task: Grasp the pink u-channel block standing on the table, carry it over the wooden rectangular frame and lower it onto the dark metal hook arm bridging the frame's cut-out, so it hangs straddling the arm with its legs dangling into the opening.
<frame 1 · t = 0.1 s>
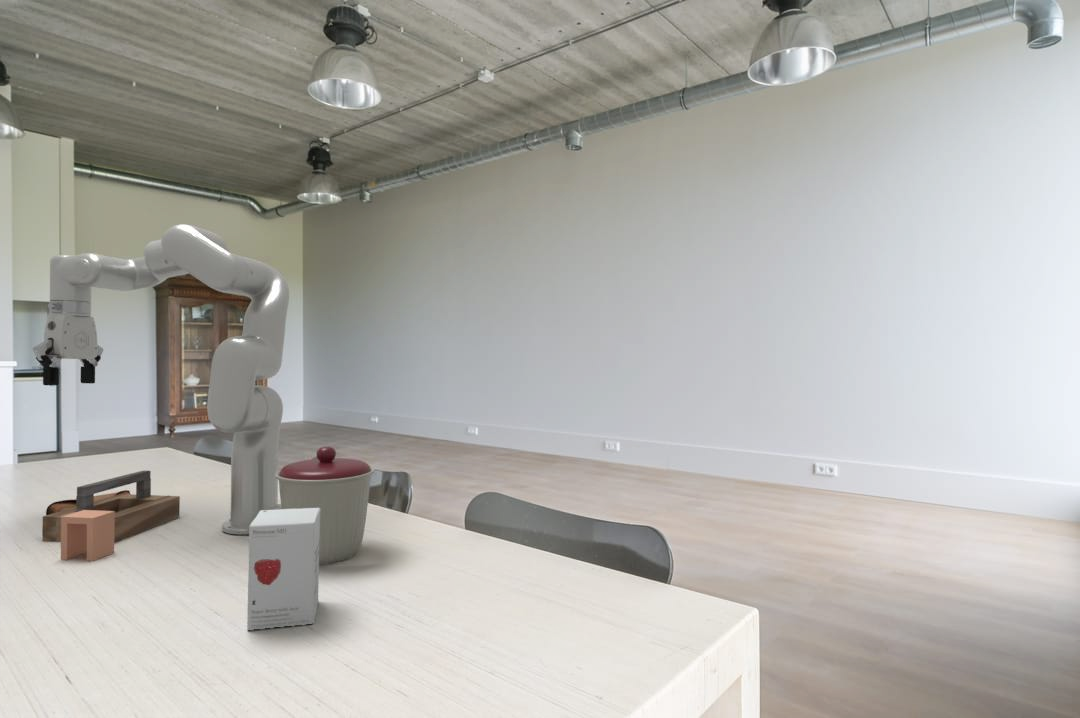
hand: (69, 384, 137), 31 cm above the table, fingers open, 9 cm apart
supplement box: (284, 617, 89), on the table
pink u-channel block: (88, 556, 113), on the table
wooden rectangular frame: (115, 528, 131), on the table
canister: (325, 556, 115), on the table
sunglasses case: (98, 514, 144), on the table
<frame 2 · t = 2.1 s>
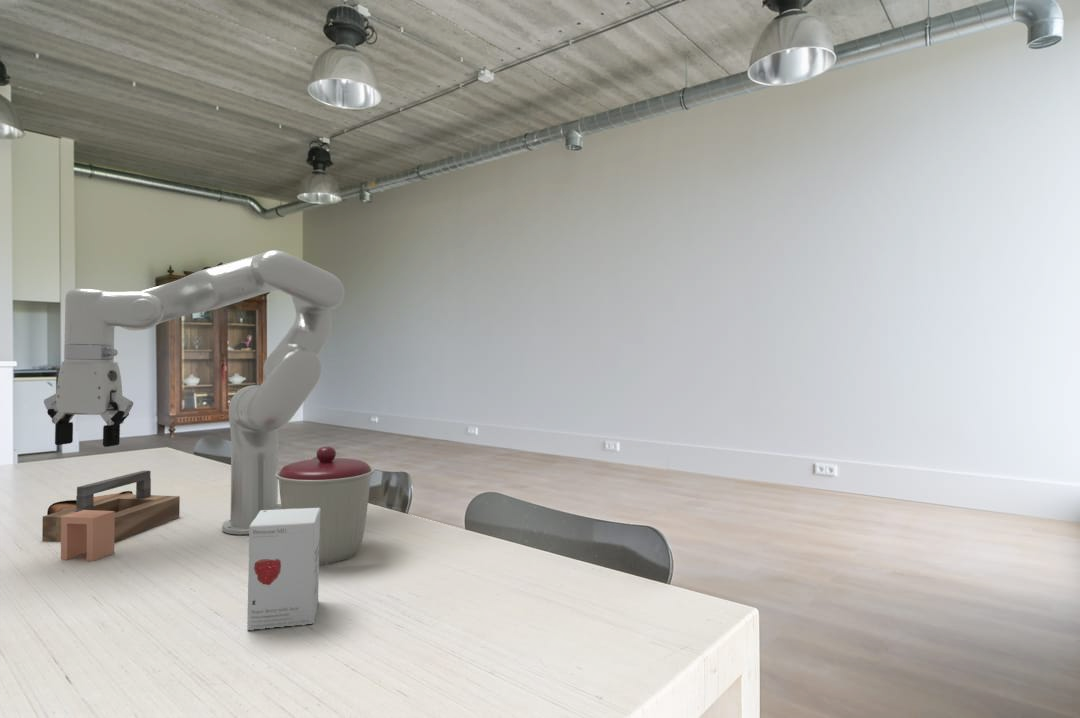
hand: (87, 444, 113), 21 cm above the table, fingers open, 9 cm apart
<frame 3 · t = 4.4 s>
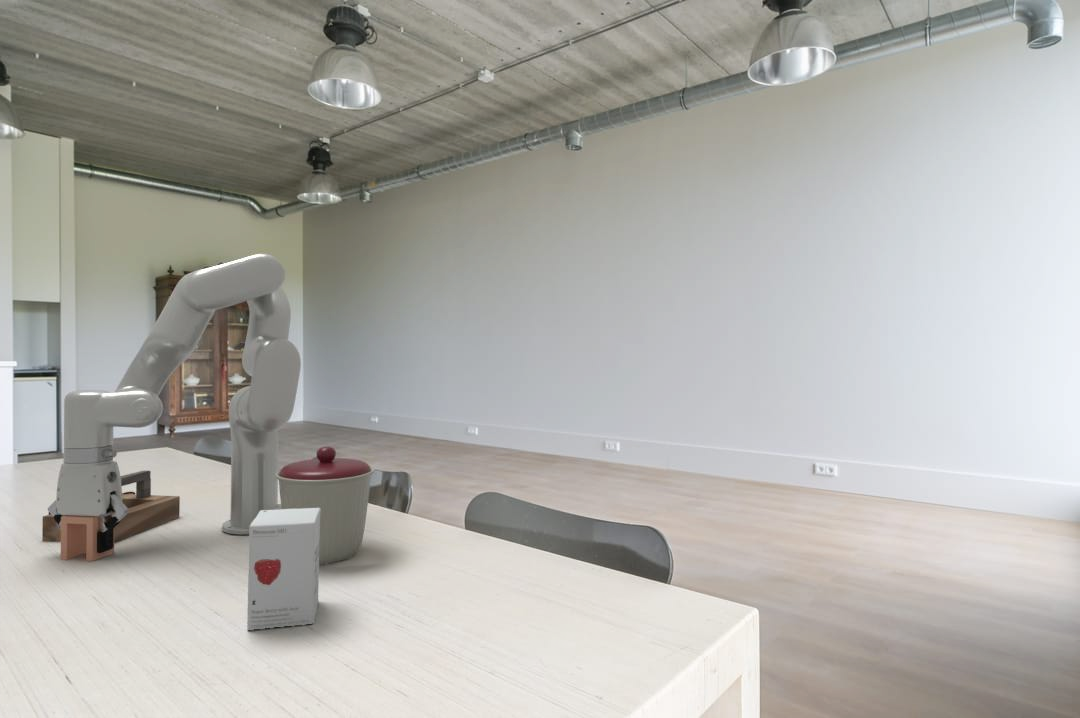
hand: (87, 549, 113), 1 cm above the table, fingers closed on pink u-channel block, 6 cm apart
pink u-channel block: (87, 555, 113), on the table, touching gripper
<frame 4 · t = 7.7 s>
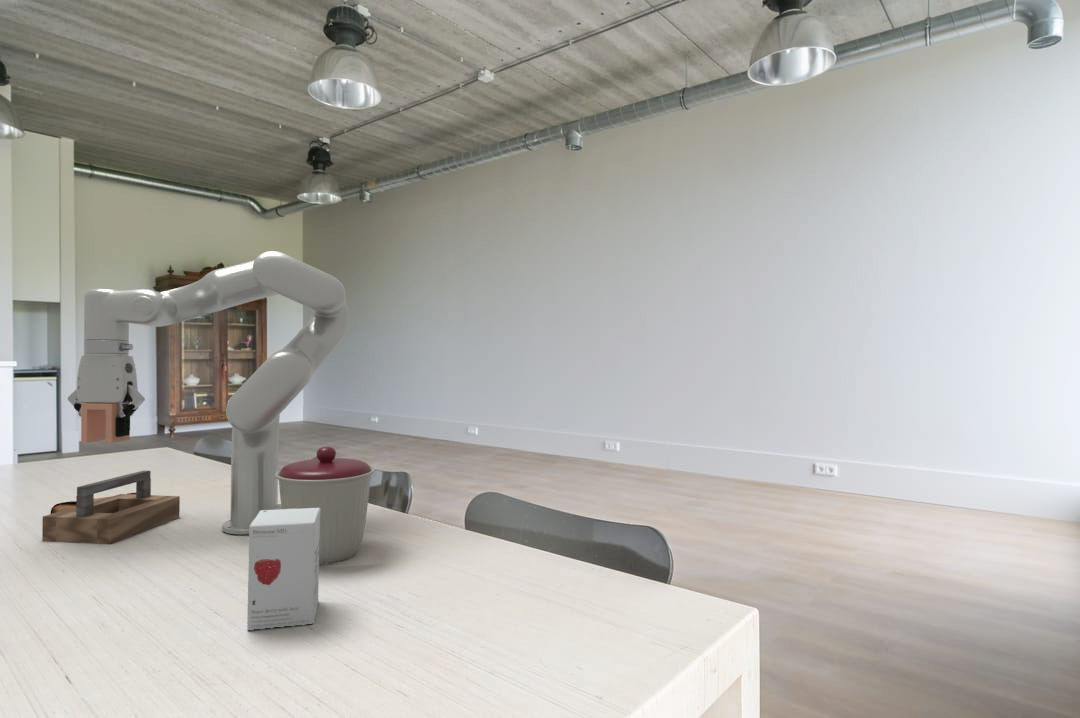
hand: (106, 434, 124), 22 cm above the table, fingers closed on pink u-channel block, 6 cm apart
pink u-channel block: (105, 441, 124), point 20 cm above the table, touching gripper
sunglasses case: (102, 517, 142), on the table
everything else where it was.
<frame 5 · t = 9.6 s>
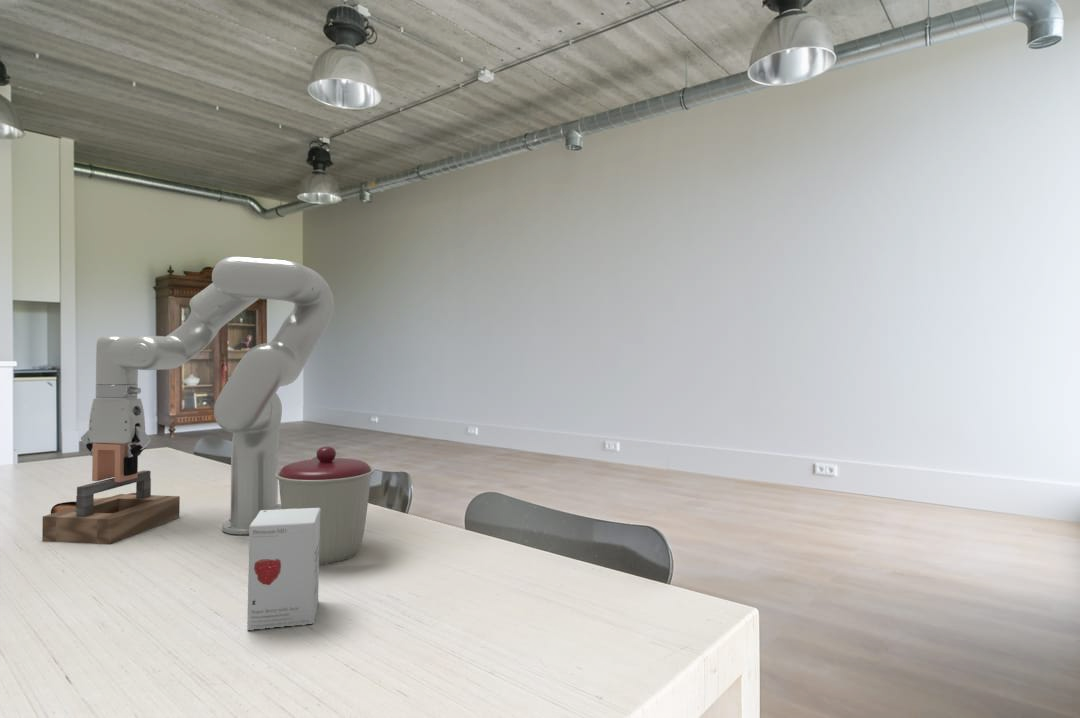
hand: (115, 473, 131), 12 cm above the table, fingers closed on pink u-channel block, 6 cm apart
pink u-channel block: (115, 479, 131), point 11 cm above the table, touching gripper
everything else where it was.
when the fingers open (6 cm above the table, at t = 11.2 s): pink u-channel block stays where it is, resting on wooden rectangular frame.
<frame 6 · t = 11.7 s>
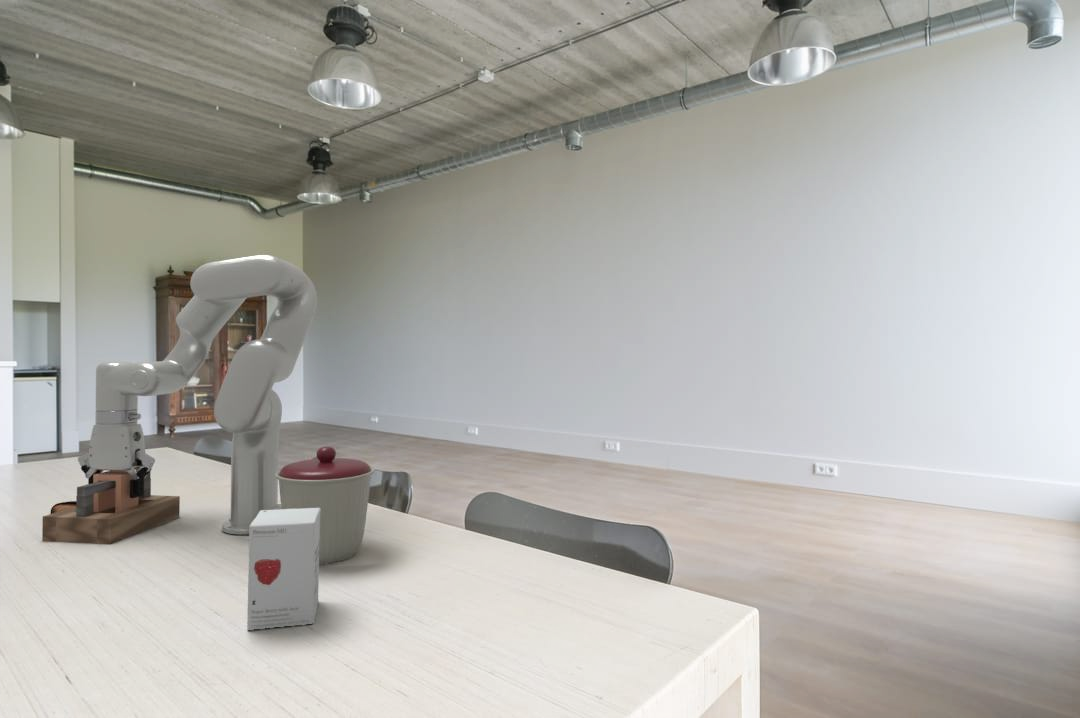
hand: (116, 496, 131), 7 cm above the table, fingers open, 9 cm apart
pink u-channel block: (115, 509, 131), point 4 cm above the table, touching wooden rectangular frame
everything else where it was.
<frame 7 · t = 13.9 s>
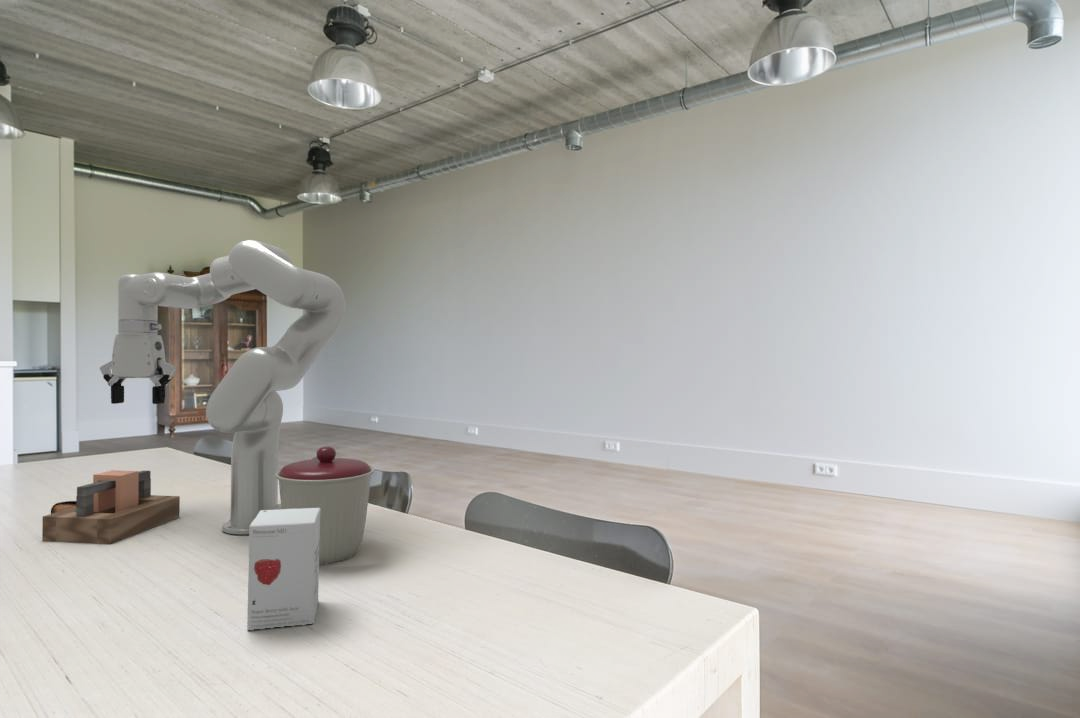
hand: (138, 403, 137), 27 cm above the table, fingers open, 9 cm apart
nothing on the table moved.
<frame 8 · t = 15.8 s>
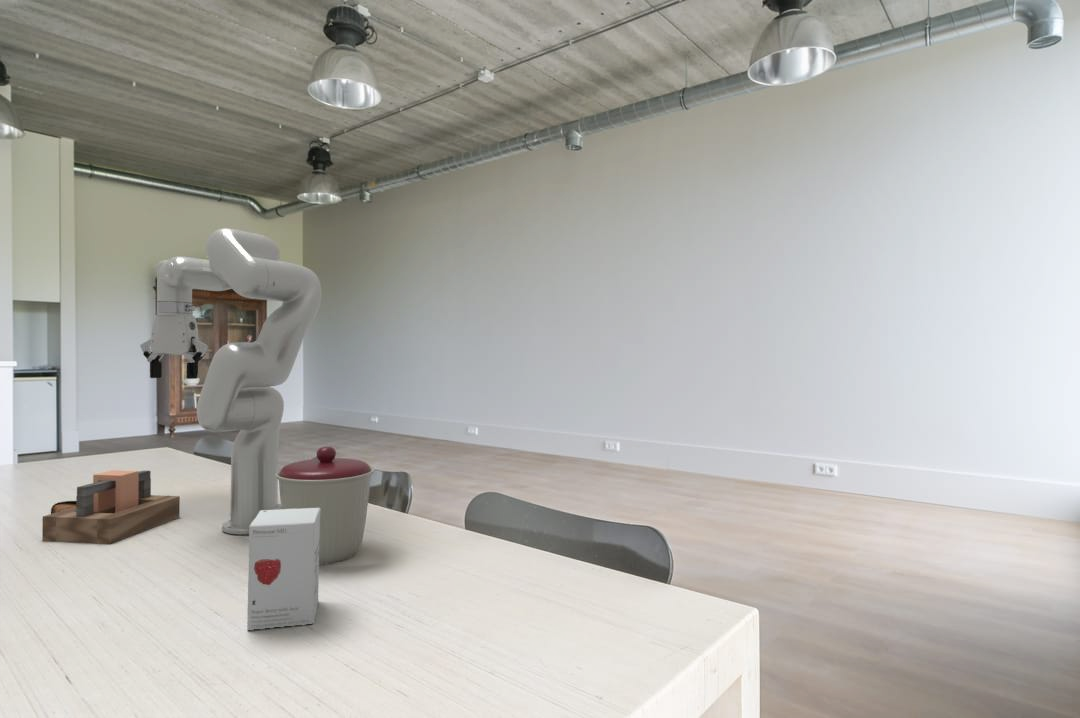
hand: (173, 378, 150), 32 cm above the table, fingers open, 9 cm apart
nothing on the table moved.
at the end: pink u-channel block inside the target area on the wooden rectangular frame (0.1 cm from its centre), point 4.2 cm above the wooden rectangular frame's base; pink u-channel block touching wooden rectangular frame; the gripper is holding nothing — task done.
